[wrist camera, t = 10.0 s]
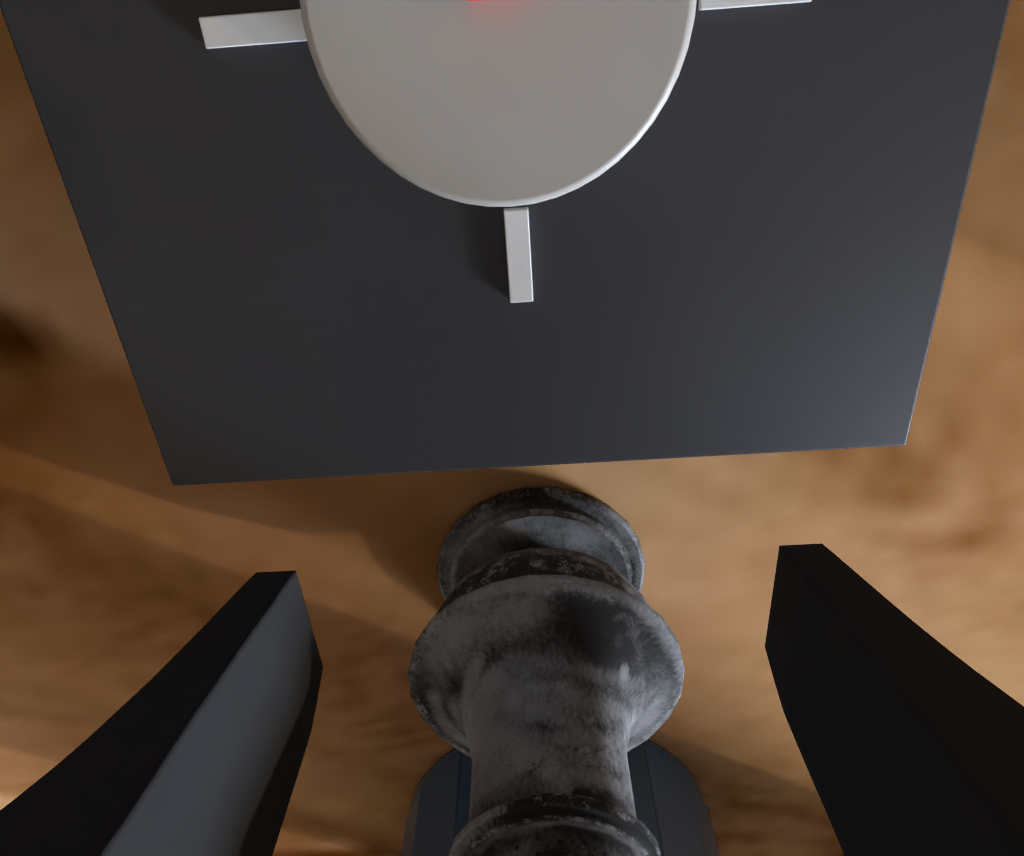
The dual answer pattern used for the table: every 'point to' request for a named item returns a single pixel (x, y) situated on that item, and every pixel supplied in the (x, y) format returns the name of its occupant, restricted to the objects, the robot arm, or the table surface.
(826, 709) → the robot arm
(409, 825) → the pot
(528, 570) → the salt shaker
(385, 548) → the table surface
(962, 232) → the table surface
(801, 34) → the console
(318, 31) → the console knob
